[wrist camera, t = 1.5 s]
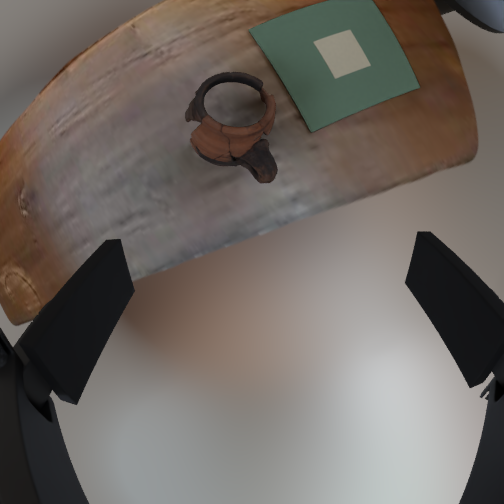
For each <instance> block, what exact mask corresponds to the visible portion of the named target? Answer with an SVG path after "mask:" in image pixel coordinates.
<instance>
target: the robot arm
mask: <svg viewBox="0 0 504 504" xmlns="http://www.w3.org/2000/svg"><path fill="white" fill-rule="evenodd" d="M405 284H406V285H407V287H408V288H409V289H410V291H411V292H412V294H413V295H414V297H415V298H416V299H417V301H418V302H419V304H420V305H421V307H422V308H423V310H424V311H425V313H426V314H427V316H428V317H429V319H430V320H431V322H432V324H433V325H434V327H435V328H436V330H437V331H438V332H439V334H440V336H441V338H442V340H443V341H444V343H445V344H446V346H447V348H448V350H449V351H450V353H451V355H452V356H453V358H454V360H455V361H456V363H457V365H458V367H459V369H460V371H461V372H462V374H463V376H464V378H465V380H466V382H467V384H468V386H469V388H472V387H474V386H477V385H479V384H481V383H483V382H484V381H485V380H486V378H487V377H488V376H489V374H490V373H491V372H493V374H494V376H495V377H494V378H493V379H492V380H491V382H490V383H489V385H488V386H487V387H486V388H485V389H484V391H483V392H482V393H481V396H480V397H481V398H482V397H483V396H484V395H485V394H486V392H487V391H489V394H488V395H487V397H486V398H485V399H486V400H488V404H487V410H486V416H485V422H484V426H483V431H482V436H481V439H480V443H479V447H478V451H477V455H476V458H475V462H474V465H473V468H472V471H471V474H470V477H469V480H468V483H467V485H466V488H465V490H464V493H463V496H462V498H461V500H460V503H459V504H504V303H503V301H502V300H501V299H499V297H498V296H497V295H496V294H495V293H494V292H493V290H492V289H490V288H489V287H488V286H487V285H486V284H485V283H484V282H483V281H482V280H481V279H480V277H478V275H476V273H475V272H474V271H472V269H471V268H470V267H469V266H467V265H466V264H465V263H464V262H463V261H462V260H461V259H460V258H459V257H458V256H457V255H456V254H455V253H454V252H453V251H452V250H451V249H449V248H448V247H447V246H446V245H445V244H444V243H443V242H441V240H439V239H438V238H437V237H436V236H435V235H434V234H432V233H431V232H417V236H416V241H415V246H414V250H413V254H412V258H411V262H410V266H409V270H408V274H407V277H406V281H405ZM134 292H135V290H134V287H133V283H132V280H131V276H130V273H129V270H128V266H127V262H126V259H125V255H124V251H123V247H122V243H121V239H112V240H106V241H105V242H104V243H103V244H102V245H101V246H100V247H99V248H98V249H97V250H96V251H95V252H94V253H93V254H92V255H91V256H90V257H89V258H88V259H87V260H86V261H85V263H84V264H83V265H82V266H81V267H80V268H79V269H78V270H77V271H76V272H75V274H74V275H73V276H72V277H71V278H70V279H69V280H68V281H67V283H66V284H65V285H64V286H63V287H62V288H61V290H60V291H59V292H58V293H57V294H56V295H55V297H54V298H53V299H52V300H51V301H49V302H48V303H47V304H45V306H44V307H43V308H42V309H41V311H40V312H39V315H37V316H36V317H35V318H34V320H33V322H31V324H30V325H29V326H28V327H27V329H26V330H25V332H24V333H23V334H22V336H21V337H20V338H19V340H18V341H17V343H16V344H15V346H14V347H12V346H11V344H10V342H9V341H8V339H7V338H6V336H5V334H4V333H3V331H2V329H1V328H0V504H89V502H88V500H87V498H86V496H85V494H84V492H83V490H82V488H81V485H80V483H79V481H78V478H77V476H76V473H75V471H74V468H73V465H72V463H71V460H70V458H69V454H68V452H67V449H66V446H65V443H64V439H63V436H62V433H61V429H60V426H59V422H58V418H57V414H56V410H55V406H54V403H53V401H52V398H51V397H50V396H49V395H50V393H51V391H52V390H53V391H54V392H55V394H56V395H57V396H58V397H59V398H60V399H61V400H63V401H66V402H69V403H72V404H75V405H77V404H78V401H79V399H80V397H81V394H82V392H83V390H84V388H85V386H86V384H87V381H88V379H89V377H90V375H91V373H92V371H93V369H94V366H95V365H96V363H97V360H98V358H99V356H100V354H101V352H102V350H103V348H104V347H105V345H106V343H107V341H108V339H109V337H110V335H111V333H112V331H113V329H114V327H115V326H116V324H117V322H118V320H119V318H120V316H121V315H122V313H123V311H124V309H125V307H126V305H127V304H128V302H129V300H130V298H131V297H132V295H133V293H134Z"/></svg>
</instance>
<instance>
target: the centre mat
mask: <svg viewBox="0 0 504 504" xmlns="http://www.w3.org/2000/svg"><path fill="white" fill-rule="evenodd" d="M249 32H250V33H251V35H252V36H253V38H254V39H255V40H256V42H257V43H258V45H259V46H260V48H261V49H262V51H263V52H264V54H265V55H266V57H267V58H268V60H269V61H270V63H271V64H272V66H273V68H274V69H275V71H276V72H277V74H278V75H279V77H280V79H281V80H282V82H283V84H284V85H285V87H286V89H287V90H288V92H289V94H290V95H291V97H292V99H293V101H294V102H295V104H296V106H297V108H298V109H299V111H300V113H301V115H302V117H303V118H304V120H305V122H306V124H307V126H308V128H309V130H310V132H311V133H312V132H314V131H316V130H318V129H320V128H323V127H325V126H327V125H329V124H331V123H333V122H336V121H338V120H340V119H342V118H345V117H347V116H349V115H352V114H354V113H356V112H358V111H361V110H363V109H366V108H368V107H370V106H373V105H375V104H378V103H380V102H383V101H385V100H388V99H391V98H393V97H396V96H398V95H401V94H404V93H406V92H409V91H412V90H415V89H418V88H420V86H419V83H418V81H417V79H416V77H415V74H414V72H413V70H412V68H411V66H410V64H409V62H408V60H407V58H406V56H405V54H404V52H403V50H402V48H401V46H400V44H399V42H398V41H397V39H396V37H395V35H394V34H393V32H392V30H391V28H390V27H389V25H388V23H387V22H386V20H385V19H384V17H383V15H382V14H381V12H380V11H379V9H378V8H377V6H376V5H375V3H374V2H373V1H372V0H328V1H325V2H321V3H318V4H314V5H311V6H308V7H305V8H302V9H299V10H296V11H293V12H290V13H288V14H285V15H282V16H280V17H277V18H275V19H272V20H270V21H267V22H265V23H262V24H260V25H258V26H256V27H253V28H251V29H249Z"/></svg>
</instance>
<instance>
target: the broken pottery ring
mask: <svg viewBox="0 0 504 504" xmlns="http://www.w3.org/2000/svg"><path fill="white" fill-rule="evenodd" d="M225 82H238V83H243V84H246V85H249V86H251V87H253V88H254V89H256V90H257V91H259V92H260V95H261V100H262V101H263V102H264V103H265V104H266V112H265V114H264V116H263V117H262V119H261V120H259V121H258V122H257V123H255V124H253V125H250V126H246V127H230V126H226V125H223V124H221V123H219V122H217V121H215V120H214V119H213V118H212V117H210V116H209V115H208V114H207V112H206V110H205V107H204V97H205V95H206V93H207V92H208V91H209V90H210V89H211V88H212V87H214V86H215V85H218V84H220V83H225ZM262 86H263V82H262V81H261V80H260V79H258V78H256V77H254V76H251V75H249V74H246V73H241V72H231V73H230V72H225V73H221V74H217V75H214V76H212V77H210V78H208V79H207V80H206V81H205V82H203V83H202V84H201V86H200V87H199V89H198V90H197V91H196V92H195V93H196V96H195V98H194V99H193V100H192V101H191V103H190V105H189V108H188V109H187V110H186V113H185V118H186V121H187V122H189V121H191V120H193V121H198V122H201V125H199V126H198V127H197V128H196V129H195V130H194V131H193V132H192V134H191V136H192V138H191V139H190V142H191V145H192V147H193V148H194V150H195V151H196V153H197V154H198V155H199V156H200V157H201V158H203V159H205V160H206V161H208V162H210V163H212V164H215V165H219V166H237V165H241V166H243V167H245V168H247V169H248V170H249V171H250V172H251V174H252V175H253V176H254V178H255V179H256V180H257V181H258V182H259V183H270V182H272V181H273V180H274V179H275V176H276V174H277V170H278V169H277V165H276V162H275V160H274V158H273V156H272V155H271V153H270V151H269V142H268V140H266V139H261V140H259V139H260V138H261V135H262V134H263V133H264V134H265V135H268V134H269V133H270V131H271V128H272V125H273V123H274V119H275V110H276V103H275V99H274V96H273V95H269V94H268V93H267V92H266V91H265V90H264V89H263V88H262ZM233 156H234V157H238V158H236V159H235V158H233Z"/></svg>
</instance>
